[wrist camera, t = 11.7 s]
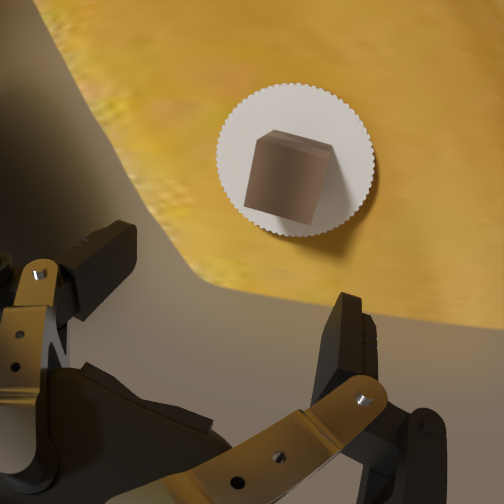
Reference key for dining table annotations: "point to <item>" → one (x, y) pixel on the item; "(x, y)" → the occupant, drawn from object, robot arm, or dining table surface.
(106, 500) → the robot arm
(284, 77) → the dining table surface
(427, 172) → the dining table surface
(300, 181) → the walnut block
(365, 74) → the dining table surface
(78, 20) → the dining table surface
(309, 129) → the plastic lid
